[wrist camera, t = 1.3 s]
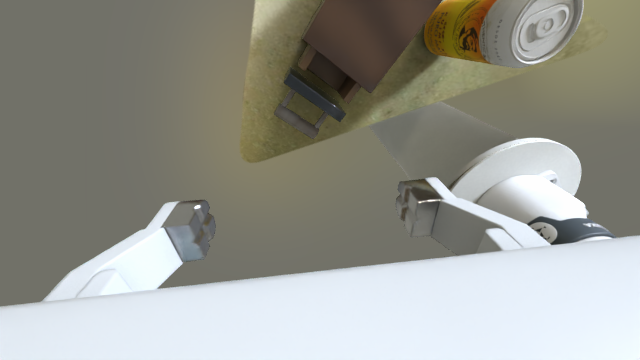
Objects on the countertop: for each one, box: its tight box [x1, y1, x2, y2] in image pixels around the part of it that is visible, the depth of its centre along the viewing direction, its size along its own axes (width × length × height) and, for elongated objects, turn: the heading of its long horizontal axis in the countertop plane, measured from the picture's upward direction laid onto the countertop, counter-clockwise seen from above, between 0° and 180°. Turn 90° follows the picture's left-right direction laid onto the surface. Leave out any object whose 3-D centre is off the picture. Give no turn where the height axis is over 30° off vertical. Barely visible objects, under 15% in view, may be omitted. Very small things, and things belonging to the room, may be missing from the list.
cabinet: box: [301, 0, 442, 93], centre depth 27 cm, size 11×9×8 cm
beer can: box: [424, 0, 583, 68], centre depth 25 cm, size 6×6×15 cm
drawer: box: [274, 44, 361, 139], centre depth 29 cm, size 15×8×6 cm, turn 145°
